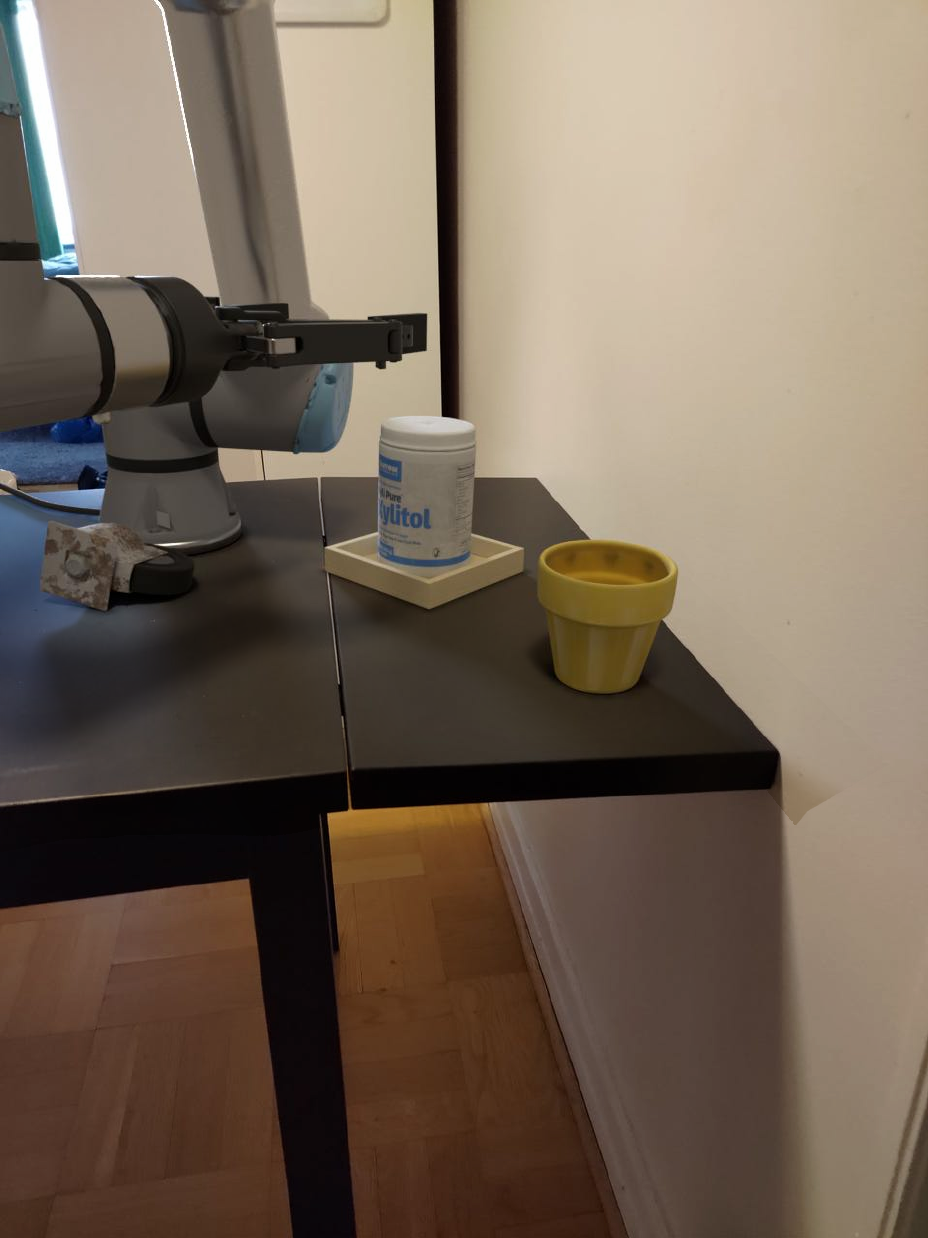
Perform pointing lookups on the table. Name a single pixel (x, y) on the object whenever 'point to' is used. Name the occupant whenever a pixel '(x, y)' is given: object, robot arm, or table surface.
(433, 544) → the supplement tub
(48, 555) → the caster wheel
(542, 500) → the table surface
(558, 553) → the flower pot
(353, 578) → the shallow tray
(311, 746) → the table surface
